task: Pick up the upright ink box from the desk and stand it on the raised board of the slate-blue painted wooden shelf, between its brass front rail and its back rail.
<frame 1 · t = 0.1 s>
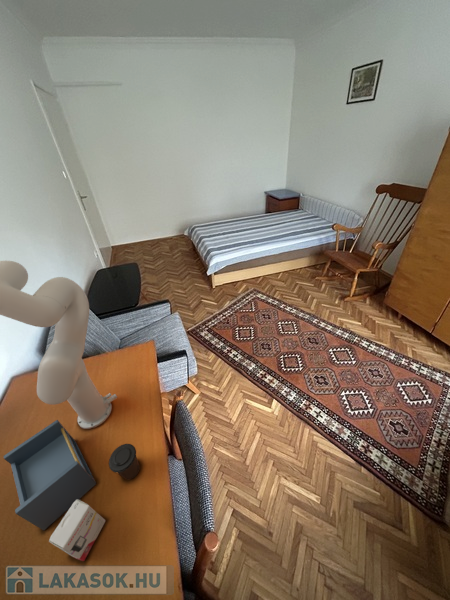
coffee cup: (131, 470, 79), on the table
ink box: (89, 536, 66), on the table
shelf: (61, 479, 78), on the table
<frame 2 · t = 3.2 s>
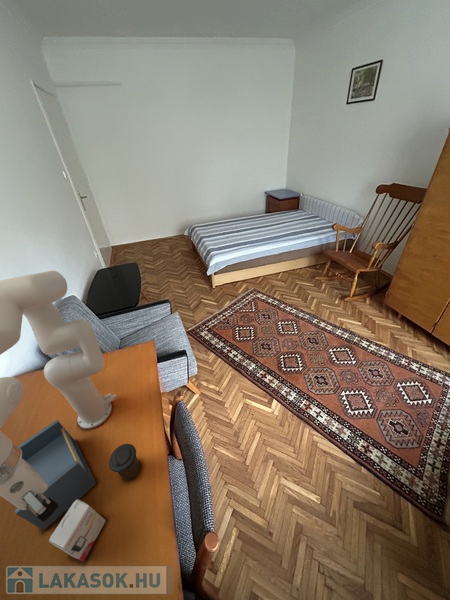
hand: (40, 499, 54), 23 cm above the table, tool pointing down, fingers open, 9 cm apart
nothing on the table moved.
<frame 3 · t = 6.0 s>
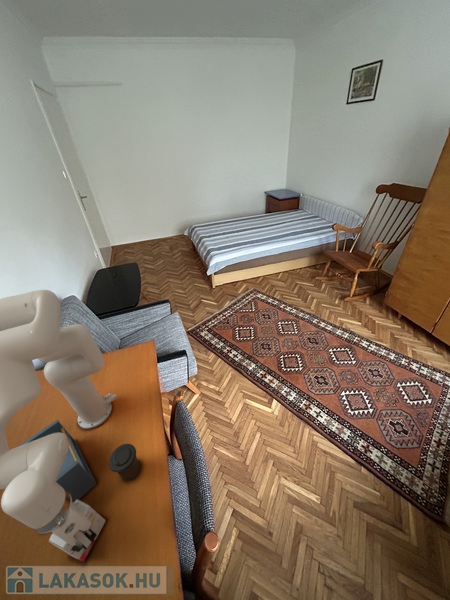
hand: (83, 532, 64), 4 cm above the table, tool pointing down, fingers closed on ink box, 5 cm apart
ink box: (89, 536, 66), on the table, touching gripper
everything else where it was.
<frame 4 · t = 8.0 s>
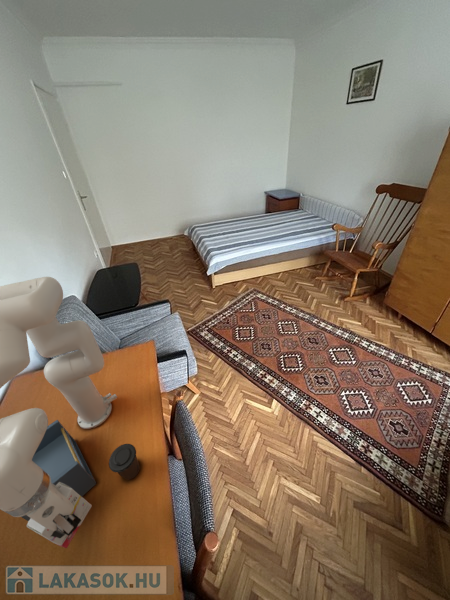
hand: (66, 518, 59), 14 cm above the table, tool pointing down, fingers closed on ink box, 5 cm apart
ink box: (73, 522, 61), point 10 cm above the table, touching gripper
everything else where it was.
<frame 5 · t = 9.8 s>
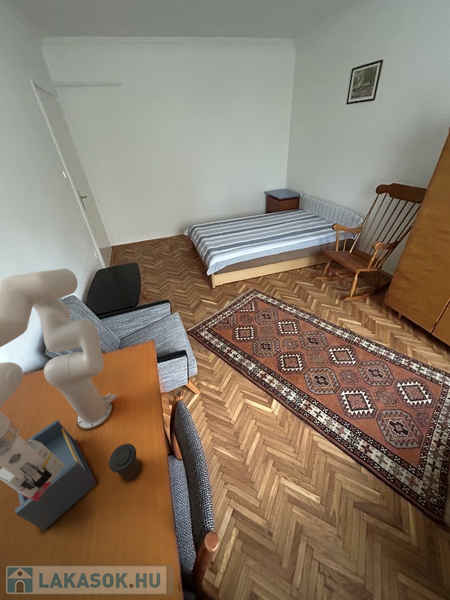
hand: (38, 473, 61), 21 cm above the table, tool pointing down, fingers closed on ink box, 5 cm apart
ink box: (45, 479, 63), point 17 cm above the table, touching gripper
everything else where it was.
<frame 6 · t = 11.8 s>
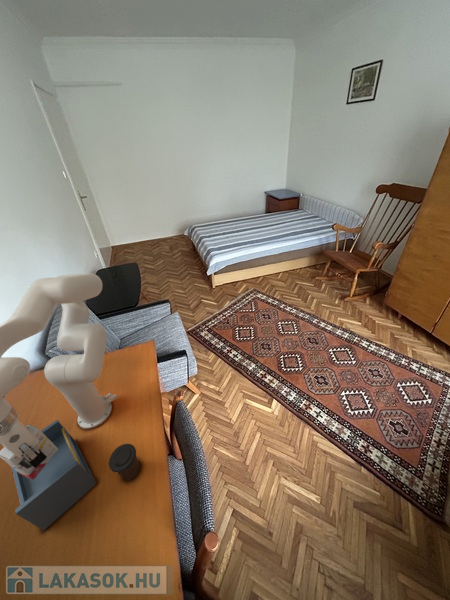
hand: (35, 455, 69), 16 cm above the table, tool pointing down, fingers closed on ink box, 5 cm apart
ink box: (41, 461, 71), point 13 cm above the table, touching gripper
everything else where it was.
when the fingers open (12 cm above the table, at t = 13.5 s): ink box stays where it is, resting on shelf.
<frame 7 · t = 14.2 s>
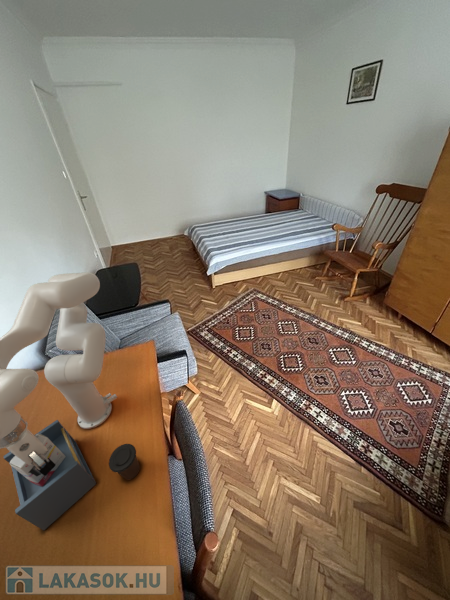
hand: (41, 461, 71), 13 cm above the table, tool pointing down, fingers open, 9 cm apart
ink box: (49, 469, 74), point 8 cm above the table, touching shelf
everything else where it was.
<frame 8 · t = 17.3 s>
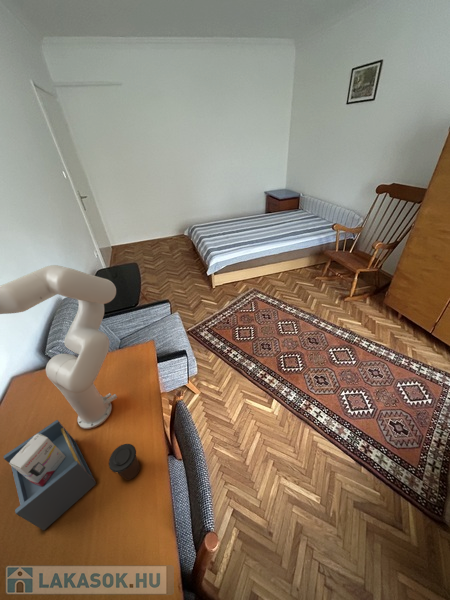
nothing on the table moved.
at the end: ink box inside the target area on the shelf (0.0 cm from its centre), point 7.8 cm above the shelf's base; ink box tilted 0°; the gripper is holding nothing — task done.
